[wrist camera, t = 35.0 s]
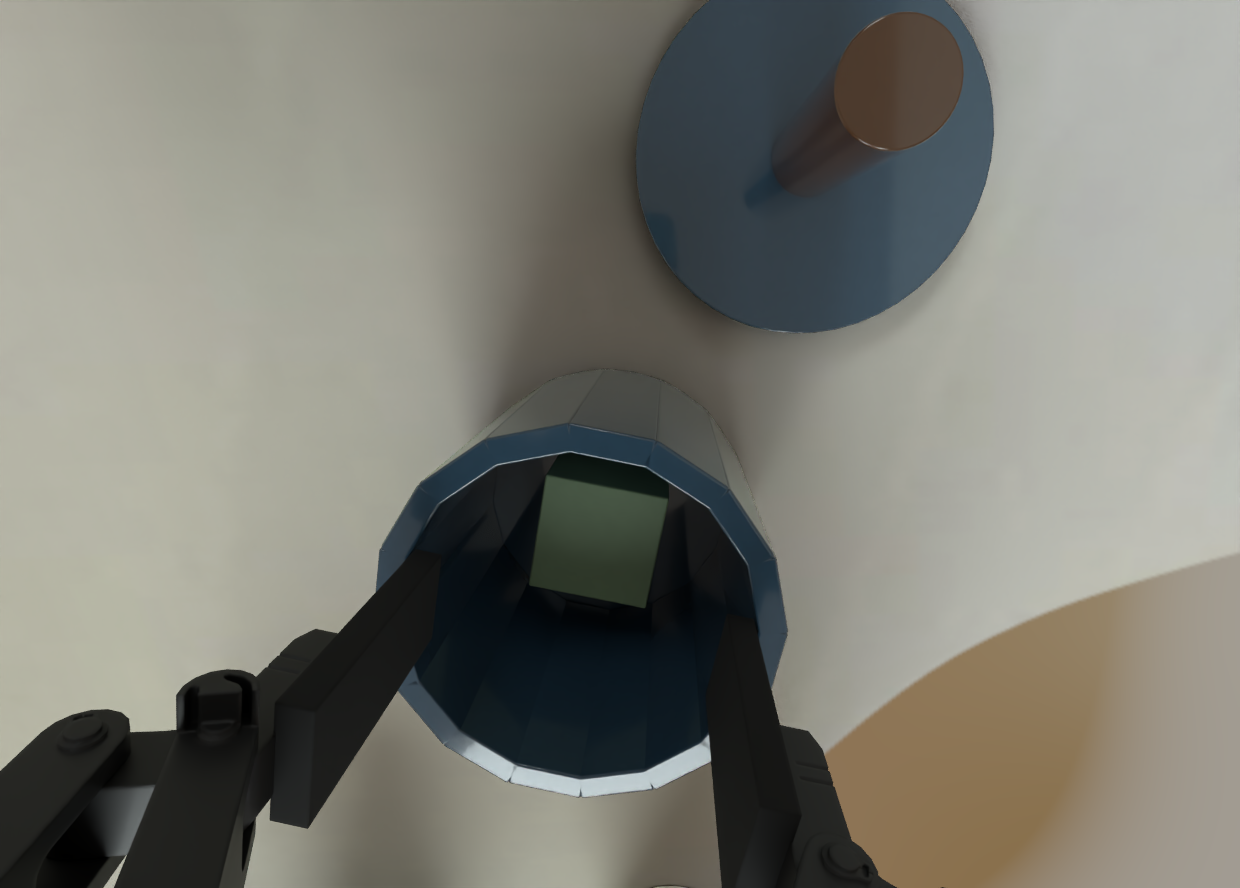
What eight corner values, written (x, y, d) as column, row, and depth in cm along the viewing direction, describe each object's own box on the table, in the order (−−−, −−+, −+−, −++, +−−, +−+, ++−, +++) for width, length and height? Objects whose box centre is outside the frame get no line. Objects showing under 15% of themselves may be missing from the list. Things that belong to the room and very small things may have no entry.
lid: (669, -58, 22) (670, -320, 12) (1026, -2, 22) (1317, -228, 12) (613, 302, 26) (579, 319, 16) (921, 355, 25) (1083, 405, 15)
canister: (498, 344, 26) (393, 387, 16) (770, 398, 26) (835, 476, 16) (465, 589, 30) (360, 752, 19) (708, 639, 29) (730, 831, 19)
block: (565, 441, 27) (545, 474, 22) (669, 462, 27) (669, 498, 22) (549, 537, 28) (527, 586, 24) (649, 557, 28) (645, 609, 24)
